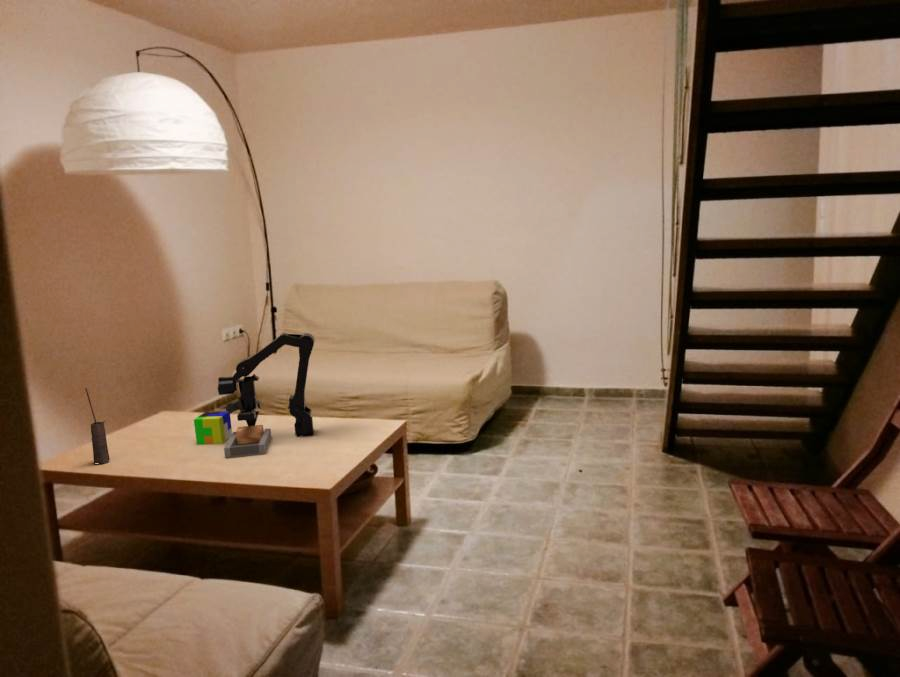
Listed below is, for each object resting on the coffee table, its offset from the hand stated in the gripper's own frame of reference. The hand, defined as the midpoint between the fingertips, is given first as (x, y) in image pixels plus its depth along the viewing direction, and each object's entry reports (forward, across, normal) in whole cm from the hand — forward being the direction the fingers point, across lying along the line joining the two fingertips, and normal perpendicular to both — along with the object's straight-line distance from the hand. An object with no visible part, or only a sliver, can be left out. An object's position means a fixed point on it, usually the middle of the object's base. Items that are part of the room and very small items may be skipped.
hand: (252, 431), depth 267 cm
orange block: (+3, +5, 0) cm, 6 cm away
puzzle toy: (+3, -4, -15) cm, 16 cm away
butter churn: (+3, +10, -51) cm, 52 cm away
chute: (+3, +10, 0) cm, 10 cm away
